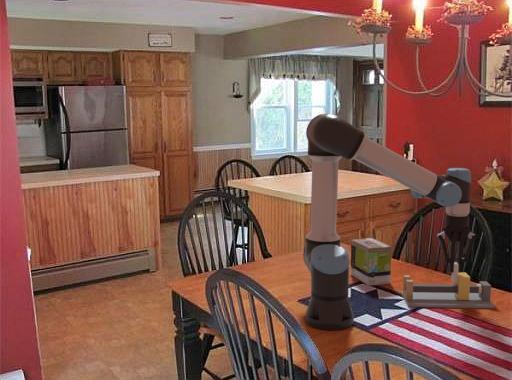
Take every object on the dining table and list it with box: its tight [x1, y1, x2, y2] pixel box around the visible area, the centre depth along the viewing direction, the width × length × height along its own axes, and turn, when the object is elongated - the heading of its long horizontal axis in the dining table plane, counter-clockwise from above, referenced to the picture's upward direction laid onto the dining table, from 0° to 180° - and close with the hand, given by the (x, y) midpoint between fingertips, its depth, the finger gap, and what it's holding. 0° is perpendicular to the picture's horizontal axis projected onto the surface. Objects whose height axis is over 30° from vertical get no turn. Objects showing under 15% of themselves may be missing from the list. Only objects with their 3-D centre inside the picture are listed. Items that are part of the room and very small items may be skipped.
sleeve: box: [453, 271, 471, 300], centre depth 184 cm, size 5×4×8 cm
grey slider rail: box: [401, 274, 495, 309], centre depth 184 cm, size 12×28×8 cm, turn 85°
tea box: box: [350, 237, 392, 286], centre depth 208 cm, size 15×10×15 cm, turn 17°
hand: (454, 281), depth 184 cm, fingers closed
